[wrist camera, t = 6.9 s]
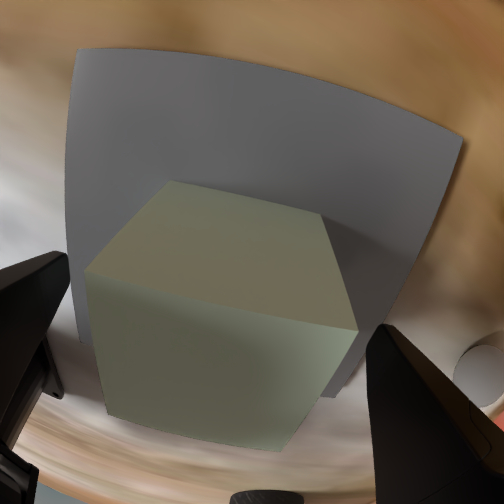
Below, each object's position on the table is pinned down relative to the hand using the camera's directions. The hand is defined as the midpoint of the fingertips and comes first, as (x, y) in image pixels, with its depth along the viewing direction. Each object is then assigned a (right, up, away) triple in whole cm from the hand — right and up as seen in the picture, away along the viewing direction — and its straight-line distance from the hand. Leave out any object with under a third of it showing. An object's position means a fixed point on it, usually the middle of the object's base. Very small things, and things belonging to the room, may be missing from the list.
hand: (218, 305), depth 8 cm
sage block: (0, +1, +2) cm, 2 cm away
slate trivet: (0, +1, +3) cm, 3 cm away
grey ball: (+12, -5, +3) cm, 13 cm away
